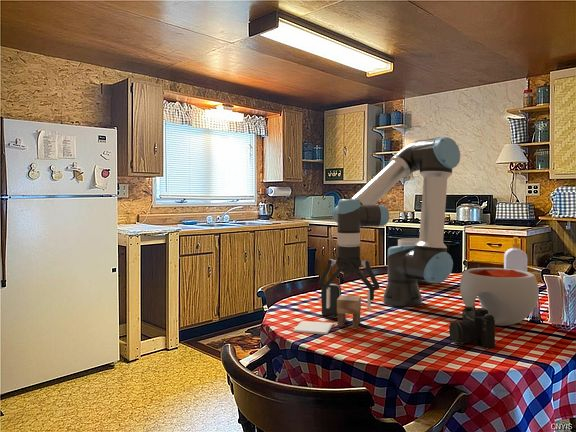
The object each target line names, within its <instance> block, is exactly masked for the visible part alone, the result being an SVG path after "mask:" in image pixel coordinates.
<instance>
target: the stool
mask: <svg viewBox="0 0 576 432" xmlns="http://www.w3.org/2000/svg"><path fill="white" fill-rule="evenodd" d="M361 310H362V296H360V295H345V294H344V295H342V294H341V295H340V296H339V298H338V299H337V313H338V316H337V327H338V328H343V327H344V324H345V323H346V321H347V319H346V318H347V317H346V316H347V315H352V328H353V329H359V324H360V325H361Z"/></svg>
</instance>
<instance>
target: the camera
mask: <svg viewBox="0 0 576 432" xmlns="http://www.w3.org/2000/svg"><path fill="white" fill-rule="evenodd" d="M461 311H462V314H461V315H462V317H461V319H462V320H454V321H451V322H450V324H449V326H448V327H449V328H448V329H449V331H448V332H449V335H450V338H451V340H452V342H453V343H455V344H466V343H467V344H471V345H475V346H481V347H483V348H484V349H486V350H487V349H488V350H495V349H496V325H495V320H494V316H492V315H491V314H488V310H487V309H484V308H482V307H479V308H476V305H475V306H473V307H466V306H464V308H463V309H462V310H461Z"/></svg>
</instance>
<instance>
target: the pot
mask: <svg viewBox="0 0 576 432" xmlns="http://www.w3.org/2000/svg"><path fill="white" fill-rule="evenodd" d="M539 291H540V290H539V284H538V280H537V278H536V276H535V274H533V273H532V272H529V271H527V272H526V271H521V270H514V269H504V267H503V268H502V267H501V268H500V267H477V268H475V267H474V268H467V269H465V270H464V271H463V272H462V275H461V277H460V282H459V292H460V296H461V299H462V301H463V304H464V305H465V306H464V307H473V306H475V307H476V304H475V303H476V300H477V299H478V300H479V303H480V308H484V309H487V310H488V314H491V315H492V316H494V320H495V326H500V327H503V326H504V327H505V326H511V325H515V324H518V323H520V322H522V321H523V320H525V319H527V318H528V317H529V316H530V315H531V313H533V311H534V309H535V308H536V305H537V304H538V300H539V297H540V296H539V294H540V293H539Z"/></svg>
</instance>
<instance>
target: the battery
mask: <svg viewBox="0 0 576 432" xmlns="http://www.w3.org/2000/svg"><path fill="white" fill-rule="evenodd" d="M328 288H330V307H329V308H326V299H327V298H324V289H323V287H321V289H320V290H321V291H320V292H321V293H320V295H321V296H320V298H321V299H320V300H321V315H323V316H329V317H338V313H337V299H338V298H339V296H340V295H342V288H341V285H340V284H338V283H331V284H330V285H329V286H328Z"/></svg>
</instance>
